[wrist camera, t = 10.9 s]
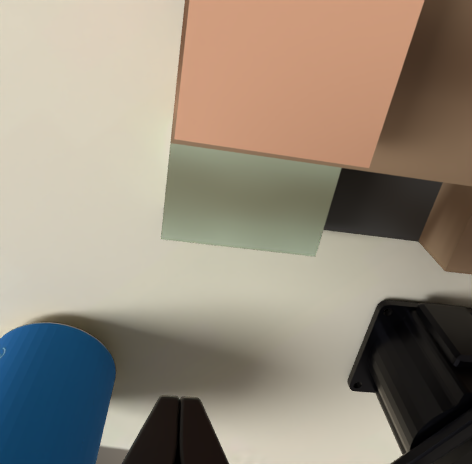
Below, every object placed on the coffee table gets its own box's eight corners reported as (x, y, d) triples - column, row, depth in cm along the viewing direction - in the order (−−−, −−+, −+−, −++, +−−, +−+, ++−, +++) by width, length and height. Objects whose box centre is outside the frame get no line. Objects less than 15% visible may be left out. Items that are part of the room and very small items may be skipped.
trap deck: (530, 252, 23) (573, 285, 20) (166, 207, 20) (160, 238, 17) (744, -131, 15) (856, -158, 13) (217, -280, 13) (220, -352, 10)
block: (341, 140, 16) (369, 167, 13) (179, 115, 15) (174, 139, 13) (396, -49, 13) (444, -62, 11) (202, -94, 12) (202, -119, 10)
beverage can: (53, 291, 22) (-87, 563, 11) (142, 362, 24) (97, 636, 14) (-30, 355, 23) (-220, 646, 13) (63, 415, 26) (-32, 697, 16)
